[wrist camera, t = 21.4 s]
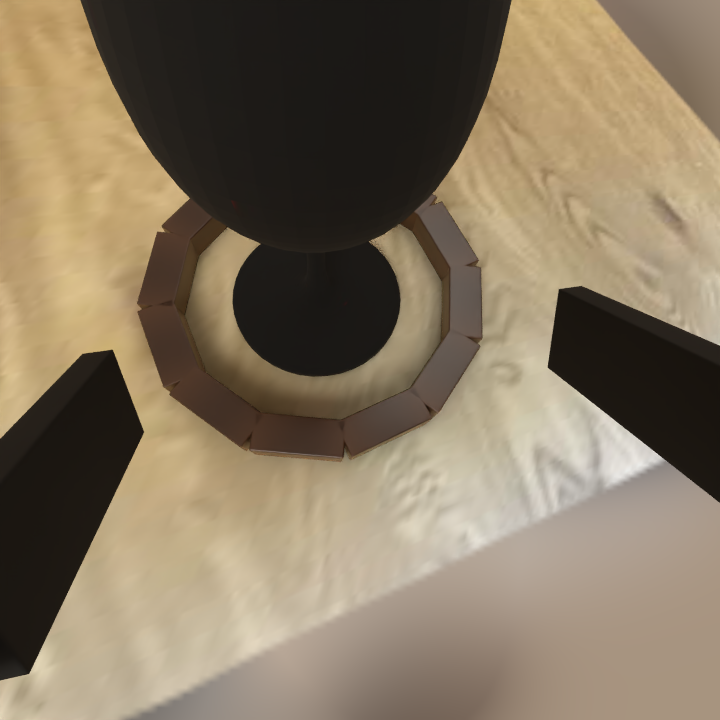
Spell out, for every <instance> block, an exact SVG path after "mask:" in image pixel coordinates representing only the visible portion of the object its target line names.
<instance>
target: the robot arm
mask: <svg viewBox="0 0 720 720" xmlns="http://www.w3.org/2000/svg"><path fill="white" fill-rule="evenodd" d="M548 368H549V369H550V370H552V371H553V372H554V373H555V374H557V375H558V376H559V377H560V378H562V379H563V380H564V381H566V382H567V383H568V384H569V385H571V386H572V387H573V388H574V389H576V390H577V391H578V392H580V393H581V394H582V395H583V396H585V397H586V398H587V399H588V400H590V401H591V402H592V403H594V404H595V405H596V406H597V407H599V408H600V409H601V410H602V411H604V412H605V413H606V414H608V415H609V416H610V417H611V418H613V419H614V420H615V421H616V422H618V423H619V424H620V425H622V426H623V427H624V428H625V429H627V430H628V431H629V432H630V433H632V434H633V435H634V436H636V437H637V438H638V439H639V440H641V441H642V442H643V443H644V444H646V445H647V446H648V447H650V448H651V449H652V450H653V451H655V452H656V453H657V454H658V455H660V456H661V457H662V458H664V459H665V460H666V461H667V462H669V463H670V464H671V465H673V466H674V467H675V468H676V469H678V470H679V471H680V472H682V473H683V474H684V475H685V476H686V477H688V478H689V479H690V480H692V481H693V482H694V483H695V484H697V485H698V486H699V487H700V488H702V489H703V490H704V491H706V492H707V493H708V494H709V495H711V496H712V497H713V498H715V499H716V500H717V501H718V502H720V346H719V345H717V344H714V343H712V342H710V341H708V340H705V339H703V338H701V337H698V336H696V335H694V334H691V333H689V332H687V331H684V330H682V329H680V328H677V327H675V326H673V325H670V324H668V323H666V322H664V321H661V320H659V319H657V318H654V317H652V316H650V315H647V314H645V313H643V312H640V311H638V310H636V309H633V308H631V307H629V306H626V305H624V304H622V303H620V302H617V301H615V300H613V299H610V298H608V297H606V296H603V295H601V294H599V293H596V292H594V291H592V290H589V289H587V288H585V287H582V286H579V287H571V288H564V289H559V292H558V299H557V306H556V313H555V320H554V327H553V334H552V341H551V348H550V355H549V362H548ZM143 433H144V431H143V428H142V425H141V423H140V420H139V417H138V415H137V412H136V410H135V407H134V404H133V402H132V399H131V396H130V394H129V391H128V389H127V386H126V383H125V381H124V378H123V375H122V373H121V370H120V368H119V365H118V362H117V360H116V357H115V354H114V352H113V350H108V351H100V352H93V353H86V354H82V355H81V356H80V357H79V358H78V359H77V360H76V361H75V362H74V363H73V364H72V365H71V367H70V368H69V369H68V370H67V371H66V372H65V373H64V374H63V375H62V376H61V377H60V378H59V379H58V380H57V381H56V382H55V383H54V384H53V385H52V386H51V387H50V388H49V389H48V390H47V391H46V392H45V393H44V394H43V395H42V396H41V397H40V398H39V400H38V401H37V402H36V403H35V404H34V405H33V406H32V407H31V408H30V409H29V410H28V411H27V412H26V413H25V414H24V415H23V416H22V417H21V418H20V419H19V420H18V421H17V422H16V423H15V424H14V425H13V426H12V427H11V428H10V429H9V430H8V431H7V432H6V434H5V435H4V436H3V437H2V438H1V439H0V680H4V679H8V678H13V677H17V676H22V675H26V674H29V673H30V671H31V669H32V667H33V665H34V663H35V660H36V658H37V656H38V654H39V652H40V650H41V648H42V646H43V644H44V641H45V639H46V637H47V635H48V633H49V631H50V629H51V627H52V625H53V623H54V620H55V618H56V616H57V614H58V612H59V610H60V608H61V606H62V604H63V602H64V599H65V597H66V595H67V593H68V591H69V589H70V587H71V585H72V583H73V581H74V578H75V576H76V574H77V572H78V570H79V568H80V566H81V564H82V562H83V560H84V557H85V555H86V553H87V551H88V549H89V547H90V545H91V543H92V541H93V539H94V536H95V534H96V532H97V530H98V528H99V526H100V524H101V522H102V520H103V518H104V515H105V513H106V511H107V509H108V507H109V505H110V503H111V501H112V499H113V497H114V494H115V492H116V490H117V488H118V486H119V484H120V482H121V480H122V478H123V476H124V473H125V471H126V469H127V467H128V465H129V463H130V461H131V459H132V457H133V454H134V452H135V450H136V448H137V446H138V444H139V442H140V440H141V438H142V436H143Z"/></svg>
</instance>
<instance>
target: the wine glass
mask: <svg viewBox="0 0 720 720" xmlns="http://www.w3.org/2000/svg"><path fill="white" fill-rule="evenodd" d="M81 3H82V6H83V9H84V12H85V14H86V17H87V20H88V23H89V26H90V29H91V32H92V35H93V38H94V40H95V43H96V46H97V49H98V51H99V53H100V56H101V58H102V60H103V62H104V65H105V67H106V69H107V72H108V74H109V76H110V79H111V81H112V83H113V85H114V87H115V89H116V91H117V93H118V95H119V97H120V99H121V100H122V102H123V104H124V106H125V108H126V110H127V112H128V114H129V116H130V117H131V119H132V121H133V123H134V125H135V127H136V129H137V131H138V133H139V134H140V136H141V138H142V139H143V141H144V142H145V144H146V145H147V147H148V148H149V150H150V151H151V153H152V154H153V156H154V157H155V158H156V159H157V161H158V162H159V163H160V164H161V166H162V167H163V168H164V169H165V170H166V172H167V173H168V174H169V175H170V177H171V178H172V179H173V180H174V181H175V183H176V184H177V185H178V186H179V187H180V188H181V189H182V190H183V192H184V193H185V194H186V195H187V196H188V197H189V198H191V199H192V200H193V201H194V202H195V203H196V204H197V205H199V206H200V207H201V208H202V209H203V210H204V211H206V212H207V213H208V214H209V215H210V216H212V217H213V218H214V219H216V220H217V221H219V222H221V223H222V224H224V225H225V226H227V227H229V228H230V229H232V230H234V231H235V232H237V233H239V234H240V235H242V236H245V237H247V238H249V239H252V240H254V241H256V242H259V243H261V244H260V245H259V246H258V247H257V248H256V249H255V250H254V251H253V252H252V253H251V254H250V255H249V256H248V258H247V259H246V261H245V262H244V264H243V265H242V267H241V269H240V271H239V273H238V276H237V278H236V281H235V285H234V290H233V309H234V315H235V318H236V321H237V324H238V327H239V329H240V331H241V333H242V335H243V337H244V339H245V340H246V341H247V343H248V344H249V345H250V346H251V348H252V349H253V350H254V351H255V352H256V353H257V354H258V355H259V356H261V357H262V358H263V359H264V360H266V361H267V362H269V363H271V364H272V365H274V366H276V367H278V368H280V369H282V370H285V371H287V372H291V373H295V374H298V375H305V376H329V375H335V374H340V373H343V372H346V371H349V370H352V369H354V368H356V367H358V366H360V365H362V364H364V363H365V362H367V361H368V360H369V359H371V358H372V357H373V356H375V355H376V354H377V353H378V352H379V351H380V349H381V348H382V347H383V346H384V345H385V344H386V342H387V341H388V339H389V338H390V336H391V334H392V332H393V330H394V327H395V325H396V323H397V319H398V315H399V310H400V292H399V286H398V282H397V279H396V276H395V274H394V272H393V270H392V267H391V266H390V264H389V263H388V261H387V260H386V258H385V257H384V256H383V255H382V254H381V252H380V251H379V250H378V249H377V248H376V247H374V246H373V245H372V244H371V243H369V242H368V241H370V240H372V239H374V238H377V237H379V236H381V235H383V234H385V233H386V232H388V231H389V230H391V229H392V228H394V227H395V226H397V225H398V224H400V223H401V222H403V221H404V220H406V219H407V218H408V217H409V216H410V215H411V214H412V213H413V212H414V211H415V210H416V209H418V208H419V207H420V206H421V205H422V204H423V203H424V202H425V201H426V200H427V199H428V198H429V197H430V196H431V195H432V193H433V192H434V191H435V190H436V189H437V187H438V186H439V185H440V183H441V182H442V180H443V179H444V178H445V176H446V175H447V174H448V172H449V171H450V169H451V168H452V166H453V165H454V163H455V162H456V160H457V159H458V157H459V155H460V153H461V151H462V149H463V147H464V145H465V143H466V141H467V139H468V137H469V135H470V133H471V131H472V129H473V127H474V125H475V122H476V120H477V118H478V115H479V113H480V110H481V108H482V106H483V103H484V101H485V98H486V96H487V93H488V90H489V87H490V83H491V80H492V77H493V74H494V71H495V68H496V64H497V61H498V57H499V53H500V49H501V44H502V40H503V36H504V31H505V27H506V23H507V19H508V14H509V9H510V5H511V0H81Z"/></svg>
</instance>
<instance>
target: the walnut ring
mask: <svg viewBox="0 0 720 720" xmlns="http://www.w3.org/2000/svg"><path fill="white" fill-rule="evenodd" d="M436 199H437V196H435V195H434V194H432V195H431V196H430V197H429V198H428V199H427V200H426V201H425V202H424V203H423V204H422V205H421V206H420V207H419V208H418V209H416V210H415V211H414V212H413V213H412V214H411V215H410V216H409V217H408V218H407V219H406V220H404V221H403V222H401V223H400V224H401V225H403V226H405V227H406V228H408V229H409V230H411V231H413V233H414V235H415V236H416V238H417V240H418V241H419V243H420V245H421V247H422V248H423V250H424V252H425V253H426V255H427V257H428V258H429V260H430V262H431V264H432V265H433V267H434V269H435V270H436V272H437V274H438V275H439V277H440V279H441V280H442V332H441V343H440V344H439V346H438V347H437V348H436V350H435V351H434V353H433V354H432V356H431V357H430V359H429V360H428V362H427V363H426V365H425V366H424V368H423V369H422V371H421V372H420V374H419V375H418V377H417V378H416V380H415V381H414V383H413V384H412V386H411V387H410V388H409V389H407V390H405V391H403V392H401V393H398V394H396V395H394V396H392V397H390V398H387V399H385V400H383V401H381V402H379V403H376V404H374V405H372V406H370V407H368V408H366V409H363V410H361V411H359V412H357V413H355V414H352V415H350V416H348V417H346V418H344V419H341V420H337V419H326V418H315V417H304V416H293V415H282V414H271V413H261V412H260V411H258V410H257V409H256V408H254V407H253V406H251V405H250V404H249V403H247V402H246V401H244V400H243V399H242V398H240V397H239V396H238V395H236V394H235V393H233V392H232V391H231V390H229V389H228V388H226V387H225V386H224V385H222V384H221V383H220V382H218V381H217V380H215V379H214V378H213V377H211V376H210V375H208V374H207V373H206V371H205V368H204V366H203V363H202V361H201V358H200V355H199V353H198V350H197V347H196V345H195V342H194V340H193V337H192V334H191V332H190V329H189V327H188V324H187V321H186V319H185V316H184V315H185V311H186V307H187V303H188V298H189V294H190V290H191V286H192V281H193V277H194V273H195V269H196V265H197V260H198V256H199V255H200V254H201V253H202V252H203V251H204V250H205V249H206V248H207V247H208V246H209V245H210V244H211V243H212V242H213V241H214V240H215V239H216V237H217V236H218V235H219V234H220V233H221V232H222V231H223V230H224V229H225V228H226V227H227V226H225V225H224V224H222V223H221V222H219V221H217V220H216V219H214V218H213V217H212V216H210V215H209V214H208V213H207V212H206V211H204V210H203V209H202V208H201V207H200V206H199V205H197V204H196V203H195V202H194V201H193V200H192V199H191V198H190V199H189V200H188V201H187V202H186V203H185V204H184V205H183V206H182V207H181V208H180V209H178V210H177V211H176V212H175V213H174V214H173V215H172V216H171V217H170V218H169V219H168V220H167V221H166V222H165V223H164V224H163V225H162V228H163V229H164V231H165V232H157V235H156V238H155V242H154V245H153V249H152V252H151V256H150V259H149V263H148V267H147V270H146V274H145V277H144V281H143V284H142V288H141V292H140V295H139V299H138V302H137V304H138V305H139V306H140V307H141V308H142V310H140V311H138V315H139V318H140V321H141V324H142V327H143V330H144V332H145V335H146V338H147V341H148V344H149V347H150V350H151V352H152V355H153V358H154V361H155V364H156V367H157V370H158V373H159V375H160V378H161V381H162V384H163V387H164V388H166V389H167V390H168V391H170V396H172V397H173V398H174V399H176V400H177V401H178V402H180V403H181V404H182V405H184V406H185V407H186V408H188V409H189V410H191V411H192V412H193V413H195V414H196V415H197V416H199V417H200V418H201V419H203V420H204V421H205V422H207V423H208V424H209V425H211V426H212V427H214V428H215V429H216V430H218V431H219V432H220V433H222V434H223V435H224V436H226V437H227V438H228V439H230V440H231V441H232V442H234V443H235V444H237V445H238V446H239V447H241V448H242V449H244V450H245V451H247V450H248V449H249V450H250V451H251V452H253V453H254V454H257V455H268V456H280V457H291V458H303V459H314V460H326V461H337V462H341V461H342V460H343V457H344V448H345V450H346V453H347V455H348V457H349V459H350V460H352V459H354V458H356V457H358V456H360V455H363V454H365V453H367V452H369V451H371V450H373V449H375V448H377V447H379V446H381V445H383V444H385V443H388V442H390V441H392V440H394V439H396V438H398V437H400V436H402V435H404V434H406V433H408V432H410V431H412V430H415V429H417V428H419V427H421V426H423V425H425V424H426V423H427V422H429V421H430V420H431V419H432V418H433V417H434V416H435V415H436V414H438V413H439V412H440V410H441V409H442V407H443V405H444V404H445V402H446V401H447V399H448V397H449V396H450V394H451V393H452V391H453V389H454V388H455V386H456V385H457V383H458V382H459V380H460V378H461V377H462V375H463V374H464V372H465V370H466V369H467V367H468V366H469V364H470V362H471V361H472V359H473V358H474V356H475V355H476V353H477V351H478V350H479V348H480V345H479V344H478V343H479V342H480V341H481V340H482V288H481V267H475V266H476V264H477V263H478V261H479V260H478V258H477V256H476V255H475V253H474V252H473V250H472V248H471V247H470V245H469V244H468V242H467V240H466V239H465V237H464V236H463V234H462V233H461V231H460V229H459V228H458V226H457V225H456V223H455V221H454V220H453V218H452V217H451V215H450V213H449V212H448V210H447V209H446V207H445V206H444V204H443V202H439V203H436V204H435V201H436Z"/></svg>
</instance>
